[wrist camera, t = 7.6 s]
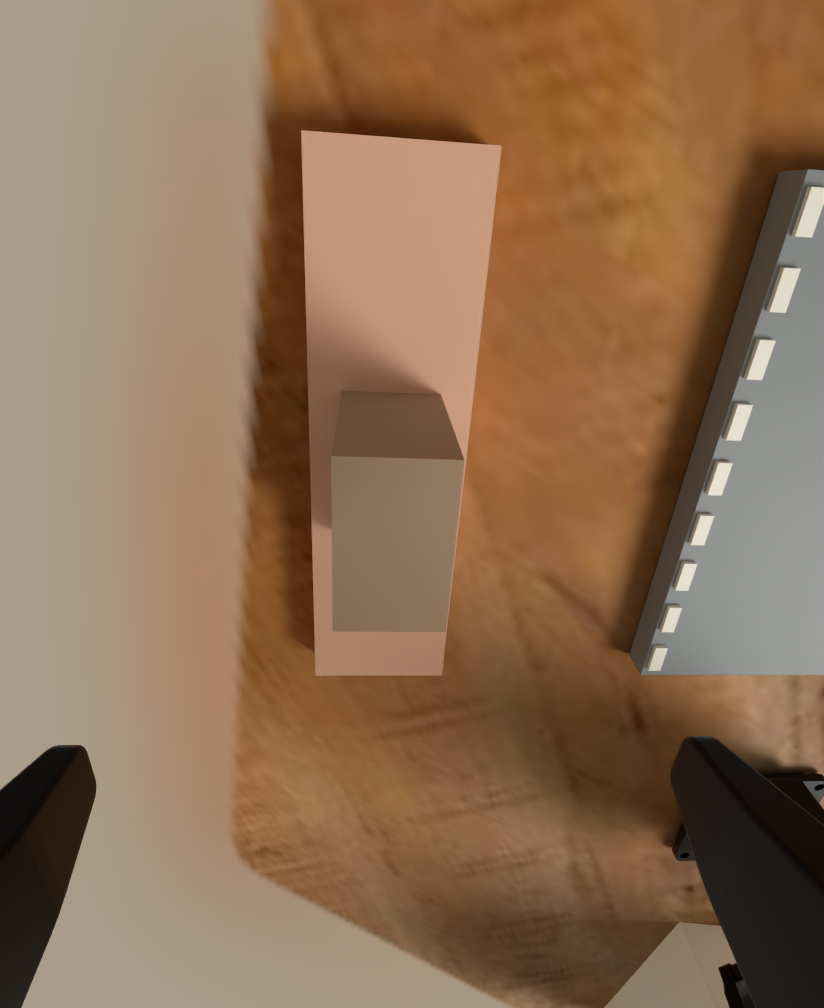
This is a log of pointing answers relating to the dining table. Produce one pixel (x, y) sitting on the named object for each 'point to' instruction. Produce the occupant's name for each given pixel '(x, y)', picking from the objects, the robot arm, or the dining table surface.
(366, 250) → the stub
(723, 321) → the dining table surface
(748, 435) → the board
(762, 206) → the dining table surface
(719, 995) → the milk
